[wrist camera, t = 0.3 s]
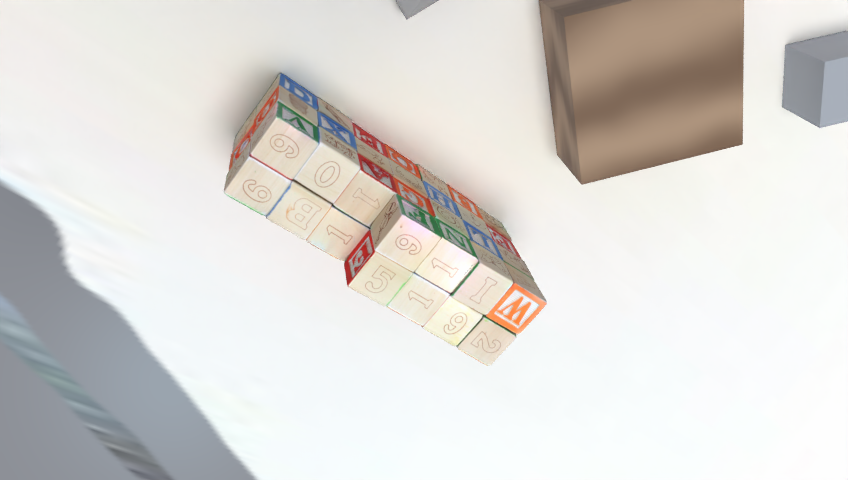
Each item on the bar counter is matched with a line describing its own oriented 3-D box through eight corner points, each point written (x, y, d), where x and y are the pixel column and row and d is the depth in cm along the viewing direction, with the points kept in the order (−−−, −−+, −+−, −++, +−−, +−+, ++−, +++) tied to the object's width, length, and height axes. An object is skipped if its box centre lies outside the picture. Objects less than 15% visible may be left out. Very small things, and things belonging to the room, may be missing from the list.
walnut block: (537, -1, 53) (563, 16, 48) (700, -41, 54) (744, -27, 49) (556, 153, 59) (581, 184, 54) (703, 117, 60) (742, 144, 54)
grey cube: (784, 44, 58) (824, 61, 53) (847, 30, 58) (892, 46, 53) (781, 106, 60) (819, 127, 56) (841, 92, 60) (884, 112, 56)
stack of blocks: (231, 139, 55) (216, 213, 44) (280, 69, 53) (276, 129, 42) (456, 279, 63) (490, 370, 52) (505, 223, 61) (550, 305, 51)
